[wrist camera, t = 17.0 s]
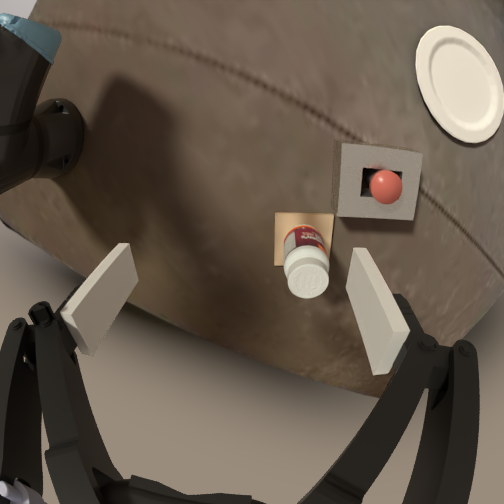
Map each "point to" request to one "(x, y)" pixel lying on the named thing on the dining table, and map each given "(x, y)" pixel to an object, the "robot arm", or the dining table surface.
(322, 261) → the pill bottle
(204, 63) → the dining table surface
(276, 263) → the cork pad
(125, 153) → the dining table surface
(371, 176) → the lever
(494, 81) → the plate
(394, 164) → the grey boxy piece
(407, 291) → the dining table surface
